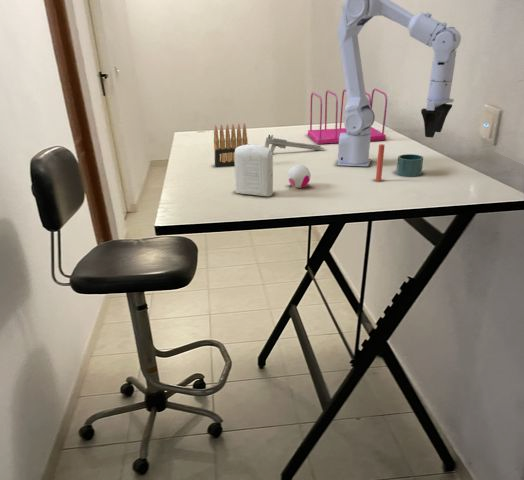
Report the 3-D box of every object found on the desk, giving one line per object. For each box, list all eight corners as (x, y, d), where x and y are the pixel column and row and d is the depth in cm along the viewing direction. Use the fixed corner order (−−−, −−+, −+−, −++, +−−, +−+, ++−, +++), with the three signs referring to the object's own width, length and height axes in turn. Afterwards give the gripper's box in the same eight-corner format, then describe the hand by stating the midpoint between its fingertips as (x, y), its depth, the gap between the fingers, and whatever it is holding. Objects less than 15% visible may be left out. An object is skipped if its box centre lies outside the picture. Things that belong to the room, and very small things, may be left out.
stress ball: (301, 203, 142) (315, 184, 138) (278, 184, 141) (291, 164, 137) (309, 194, 148) (323, 175, 143) (287, 176, 147) (300, 156, 143)
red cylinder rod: (375, 181, 147) (378, 145, 141) (375, 179, 148) (379, 144, 143) (380, 181, 146) (384, 145, 141) (381, 179, 147) (384, 144, 142)
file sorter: (385, 140, 189) (390, 92, 180) (317, 144, 186) (319, 95, 178) (370, 131, 203) (374, 86, 195) (307, 134, 201) (308, 89, 192)
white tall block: (275, 193, 139) (275, 144, 133) (269, 197, 136) (268, 147, 129) (239, 189, 143) (237, 141, 136) (233, 194, 139) (230, 145, 133)
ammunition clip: (248, 163, 167) (246, 122, 160) (249, 164, 165) (247, 123, 159) (214, 165, 165) (211, 124, 159) (215, 167, 164) (212, 125, 157)
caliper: (265, 154, 176) (265, 134, 172) (265, 154, 177) (264, 134, 173) (324, 150, 179) (324, 130, 176) (323, 149, 180) (323, 130, 177)
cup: (395, 175, 150) (397, 159, 148) (396, 169, 156) (398, 153, 154) (421, 177, 149) (423, 160, 146) (421, 170, 154) (423, 154, 152)
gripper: (449, 84, 134) (440, 140, 141) (462, 78, 144) (453, 130, 152) (421, 83, 137) (414, 138, 144) (436, 77, 147) (429, 128, 155)
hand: (433, 134), depth 148 cm, fingers open, 7 cm apart
